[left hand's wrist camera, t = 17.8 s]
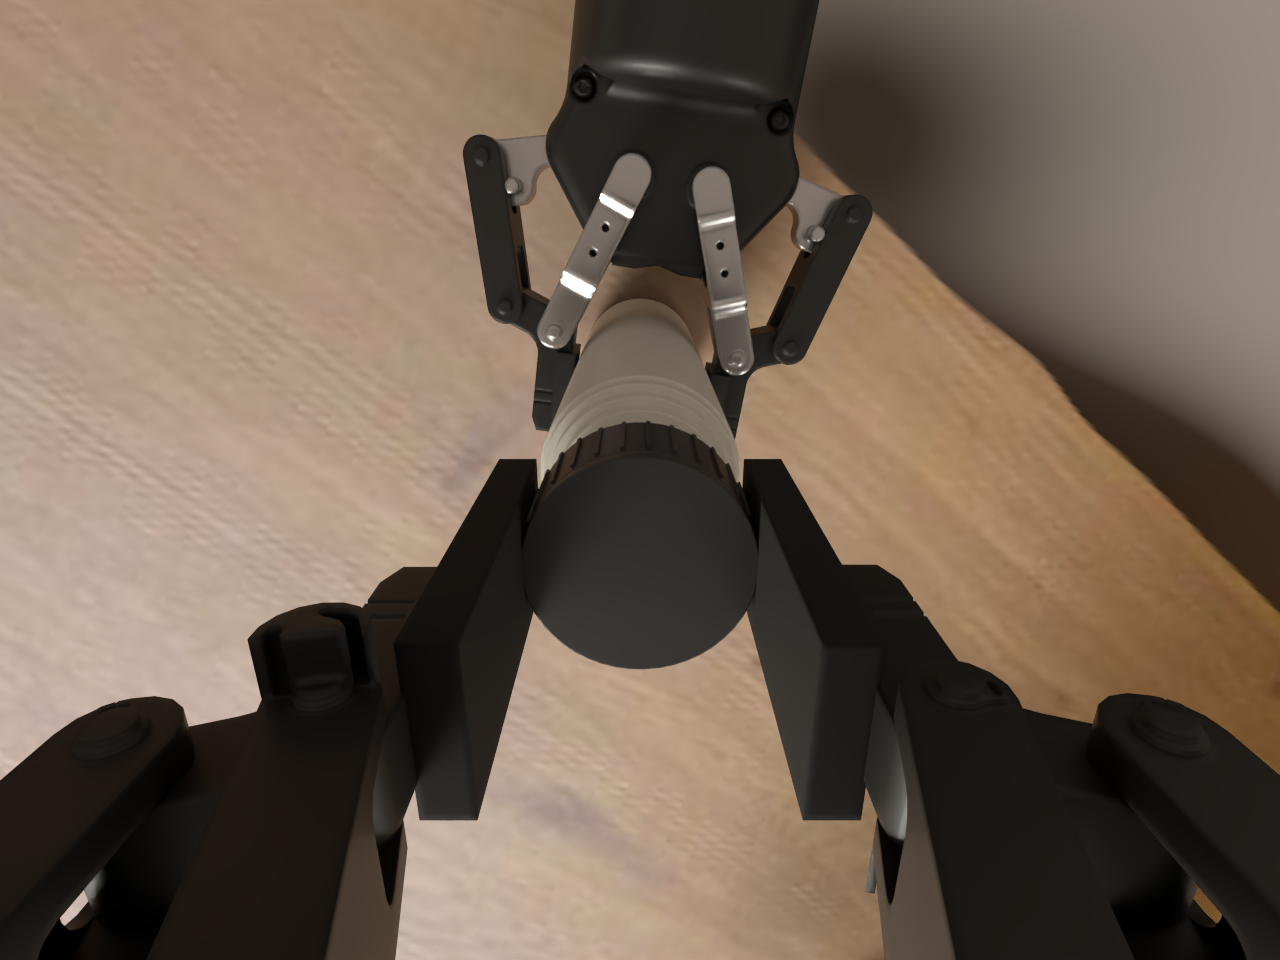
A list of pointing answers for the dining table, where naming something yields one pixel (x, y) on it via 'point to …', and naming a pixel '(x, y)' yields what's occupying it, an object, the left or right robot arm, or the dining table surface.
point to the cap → (639, 547)
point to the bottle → (640, 382)
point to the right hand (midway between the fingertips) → (629, 449)
